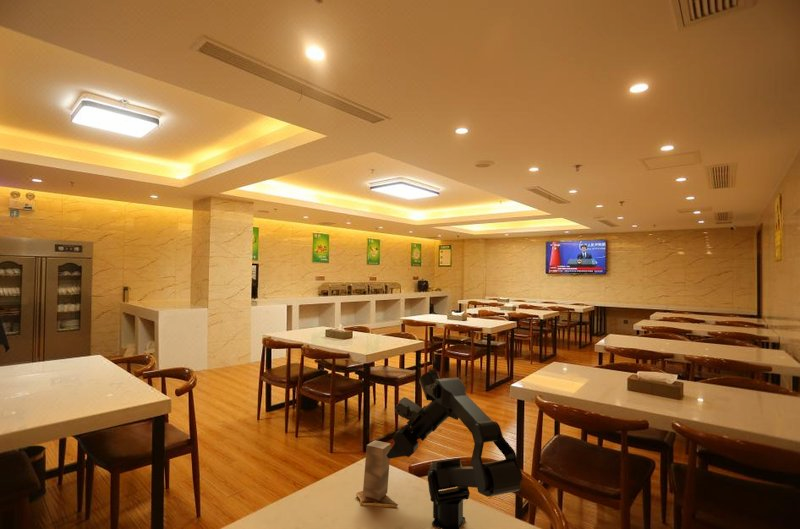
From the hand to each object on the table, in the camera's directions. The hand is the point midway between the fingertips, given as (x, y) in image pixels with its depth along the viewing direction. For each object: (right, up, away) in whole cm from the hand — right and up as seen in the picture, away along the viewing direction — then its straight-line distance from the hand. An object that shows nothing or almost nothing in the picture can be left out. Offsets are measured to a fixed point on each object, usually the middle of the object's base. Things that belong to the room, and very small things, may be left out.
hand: (394, 449), depth 106 cm
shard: (-5, -15, +1) cm, 15 cm away
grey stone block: (-5, -12, 0) cm, 13 cm away
